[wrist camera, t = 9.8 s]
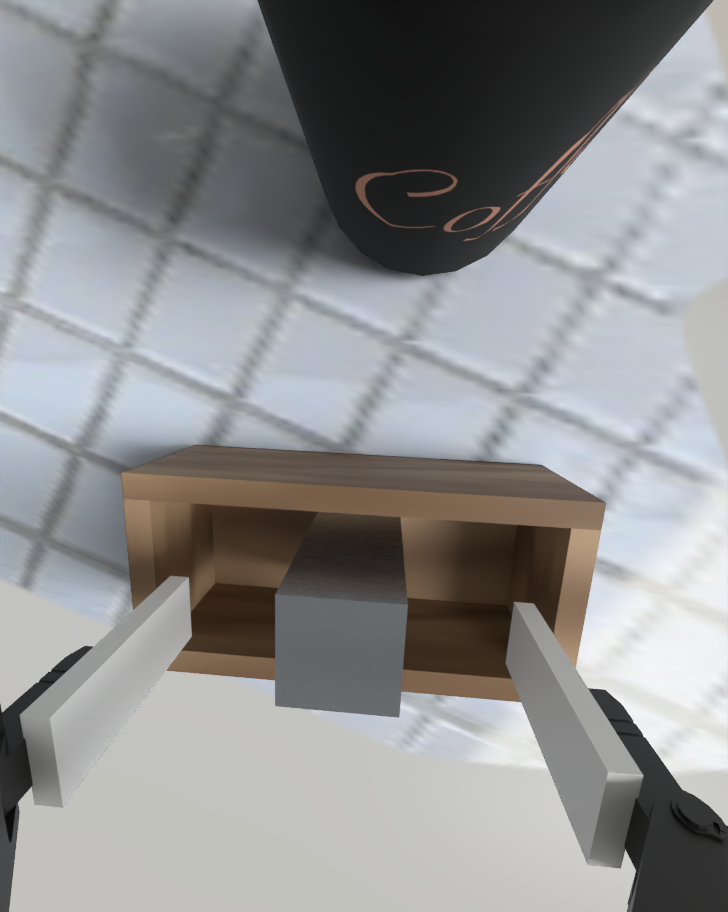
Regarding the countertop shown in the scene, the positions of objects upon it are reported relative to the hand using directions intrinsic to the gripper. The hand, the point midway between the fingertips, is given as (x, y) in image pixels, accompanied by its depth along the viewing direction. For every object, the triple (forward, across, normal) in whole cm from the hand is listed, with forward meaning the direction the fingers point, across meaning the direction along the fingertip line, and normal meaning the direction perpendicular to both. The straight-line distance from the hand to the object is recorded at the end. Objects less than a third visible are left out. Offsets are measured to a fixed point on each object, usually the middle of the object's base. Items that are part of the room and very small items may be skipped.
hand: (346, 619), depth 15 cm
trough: (+9, 0, 0) cm, 9 cm away
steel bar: (+8, 0, 0) cm, 8 cm away
